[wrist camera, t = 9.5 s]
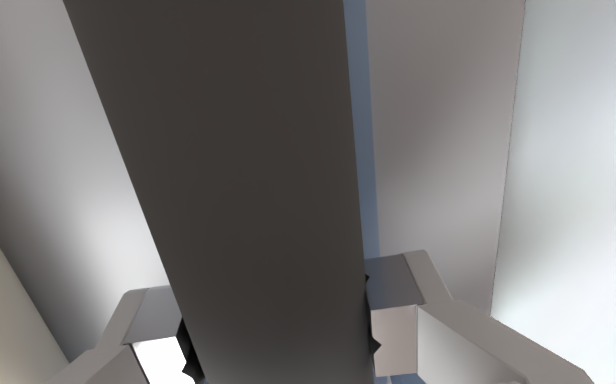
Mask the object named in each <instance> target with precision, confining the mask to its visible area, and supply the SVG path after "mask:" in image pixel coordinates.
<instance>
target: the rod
mask: <svg viewBox="0 0 616 384" xmlns="http://www.w3.org/2000/svg"><path fill="white" fill-rule="evenodd" d="M68 365H69V362H68V360H67V359H66V357H65V355H64V354H63V352H62V350H61V349H60V347H59V345H58V344H57V342H56V340H55V339H54V337H53V335H52V334H51V332H50V330H49V329H48V327H47V325H46V324H45V322H44V320H43V319H42V317H41V315H40V314H39V312H38V310H37V309H36V307H35V305H34V304H33V302H32V300H31V299H30V297H29V295H28V294H27V292H26V290H25V289H24V287H23V285H22V284H21V282H20V280H19V279H18V277H17V275H16V274H15V272H14V270H13V269H12V267H11V265H10V264H9V262H8V260H7V259H6V257H5V255H4V254H3V252H2V250H1V249H0V384H45V383H46V382H47V381H49V380H50V379H51V378H52V377H54V376H55V375H56V374H57V373H59V372H60V371H61V370H63V369H64V368H65V367H66V366H68Z"/></svg>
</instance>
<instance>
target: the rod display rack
mask: <svg viewBox="0 0 616 384" xmlns="http://www.w3.org/2000/svg"><path fill="white" fill-rule="evenodd" d="M525 2H526V0H343V4H344V17H345V29H346V41H347V54H348V66H349V79H350V91H351V103H352V116H353V128H354V141H355V153H356V166H357V178H358V190H359V203H360V215H361V228H362V240H363V252H364V259H368V258H375V257H382V256H389V255H396V254H401V253H404V252H410V251H417V250H423V249H424V250H425V251H427V252H428V254H429V256H430V258H431V260H432V262H433V264H434V265H435V267H436V269H437V271H438V273H439V275H440V276H441V278H442V280H443V282H444V284H445V286H446V287H447V289H448V291H449V293H450V295H451V297H452V298H453V300H462V301H464V302H466V303H468V304H469V305H471V306H473V307H475V308H476V309H478V310H480V311H482V312H483V313H485V314H487V315H489V316H490V312H491V303H492V295H493V286H494V277H495V268H496V259H497V250H498V241H499V232H500V223H501V215H502V206H503V197H504V188H505V179H506V170H507V161H508V152H509V144H510V135H511V126H512V117H513V108H514V99H515V90H516V81H517V73H518V64H519V55H520V46H521V37H522V28H523V19H524V10H525ZM0 249H1V250H2V252H3V254H4V255H5V257H6V259H7V260H8V262H9V264H10V265H11V267H12V269H13V270H14V272H15V274H16V275H17V277H18V279H19V280H20V282H21V284H22V285H23V287H24V289H25V290H26V292H27V294H28V295H29V297H30V299H31V300H32V302H33V304H34V305H35V307H36V309H37V310H38V312H39V314H40V315H41V317H42V319H43V320H44V322H45V324H46V325H47V327H48V329H49V330H50V332H51V334H52V335H53V337H54V339H55V340H56V342H57V344H58V345H59V347H60V349H61V350H62V352H63V354H64V355H65V357H66V359H67V360H68V362H69V364H70V363H71V362H73V361H74V360H75V359H76V358H78V357H79V356H80V355H81V354H83V353H84V352H85V351H86V350H92V349H95V347H96V345H97V343H98V341H99V339H100V337H101V335H102V333H103V332H104V330H105V328H106V326H107V324H108V322H109V320H110V318H111V316H112V315H113V313H114V311H115V309H116V307H117V305H118V303H119V301H120V300H121V298H122V296H123V294H124V293H125V292H127V291H128V290H133V289H141V288H151V287H156V286H165V285H170V283H169V280H168V278H167V275H166V272H165V270H164V267H163V264H162V262H161V259H160V256H159V254H158V251H157V249H156V246H155V243H154V241H153V238H152V235H151V233H150V230H149V227H148V225H147V222H146V219H145V217H144V214H143V212H142V209H141V206H140V204H139V201H138V198H137V196H136V193H135V190H134V188H133V185H132V182H131V180H130V177H129V175H128V172H127V169H126V167H125V164H124V161H123V159H122V156H121V153H120V151H119V148H118V145H117V143H116V140H115V137H114V135H113V132H112V130H111V127H110V124H109V122H108V119H107V116H106V114H105V111H104V108H103V106H102V103H101V100H100V98H99V95H98V93H97V90H96V87H95V85H94V82H93V79H92V77H91V74H90V71H89V69H88V66H87V63H86V61H85V58H84V56H83V53H82V50H81V48H80V45H79V42H78V40H77V37H76V34H75V32H74V29H73V26H72V24H71V21H70V19H69V16H68V13H67V11H66V8H65V5H64V3H63V0H0ZM372 364H373V363H372ZM373 377H374V384H426V383H425V382H424V381H423V380H422V379H421V378H420V377H419V376H418V373H411V374H402V375H392V376H383V377H376V376H375V372H374V368H373ZM205 384H208V383H207V381H206V379H205Z"/></svg>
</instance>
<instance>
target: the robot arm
mask: <svg viewBox="0 0 616 384" xmlns="http://www.w3.org/2000/svg"><path fill="white" fill-rule="evenodd" d="M364 265H365V277H366V283H365V297H366V310H367V318H368V322H369V330H368V335H369V346H370V355H371V359H372V363H373V368H374V372H375V376H376V377H383V376H392V375H402V374H411V373H418V376H419V377H420V378H421V379H422V380H423V381H424V382H425V383H426V384H594V383H593V381H592V380H591V379H590V377H589V376H588V375H587V374H586V372H585V371H584V370H583V369H581V368H579V367H577V366H576V365H574V364H572V363H570V362H569V361H567V360H565V359H563V358H562V357H560V356H558V355H556V354H555V353H553V352H551V351H549V350H548V349H546V348H544V347H542V346H541V345H539V344H537V343H536V342H534V341H532V340H530V339H529V338H527V337H525V336H523V335H522V334H520V333H518V332H516V331H515V330H513V329H511V328H509V327H508V326H506V325H504V324H502V323H501V322H499V321H497V320H496V319H494V318H492V317H490V316H489V315H487V314H485V313H483V312H482V311H480V310H478V309H476V308H475V307H473V306H471V305H469V304H468V303H466V302H464V301H462V300H453V298H452V297H451V295H450V293H449V291H448V289H447V287H446V286H445V284H444V282H443V280H442V278H441V276H440V275H439V273H438V271H437V269H436V267H435V265H434V264H433V262H432V260H431V258H430V256H429V254H428V252H427V251H425V250H424V249H423V250H417V251H410V252H404V253H401V254H396V255H389V256H382V257H375V258H368V259H364ZM205 379H206V378H205V375H204V373H203V370H202V367H201V365H200V362H199V360H198V357H197V354H196V352H195V349H194V346H193V344H192V341H191V338H190V336H189V333H188V330H187V328H186V325H185V323H184V320H183V317H182V315H181V312H180V309H179V307H178V304H177V301H176V299H175V296H174V293H173V291H172V288H171V286H170V285H165V286H156V287H151V288H141V289H133V290H128V291H127V292H125V293H124V294H123V296H122V298H121V300H120V301H119V303H118V305H117V307H116V309H115V311H114V313H113V315H112V316H111V318H110V320H109V322H108V324H107V326H106V328H105V330H104V332H103V333H102V335H101V337H100V339H99V341H98V343H97V345H96V347H95V349H92V350H86V351H85V352H84V353H83V354H81V355H80V356H79V357H78V358H76V359H75V360H74V361H73V362H71V363H70V364H69V365H68V366H66V367H65V368H64V369H63V370H61V371H60V372H59V373H57V374H56V375H55V376H54V377H52V378H51V379H50V380H49V381H47V382H46V383H45V384H205Z"/></svg>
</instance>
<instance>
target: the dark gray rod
mask: <svg viewBox="0 0 616 384" xmlns="http://www.w3.org/2000/svg"><path fill="white" fill-rule="evenodd" d="M63 3H64V5H65V8H66V11H67V13H68V16H69V19H70V21H71V24H72V26H73V29H74V32H75V34H76V37H77V40H78V42H79V45H80V48H81V50H82V53H83V56H84V58H85V61H86V63H87V66H88V69H89V71H90V74H91V77H92V79H93V82H94V85H95V87H96V90H97V93H98V95H99V98H100V100H101V103H102V106H103V108H104V111H105V114H106V116H107V119H108V122H109V124H110V127H111V130H112V132H113V135H114V137H115V140H116V143H117V145H118V148H119V151H120V153H121V156H122V159H123V161H124V164H125V167H126V169H127V172H128V175H129V177H130V180H131V182H132V185H133V188H134V190H135V193H136V196H137V198H138V201H139V204H140V206H141V209H142V212H143V214H144V217H145V219H146V222H147V225H148V227H149V230H150V233H151V235H152V238H153V241H154V243H155V246H156V249H157V251H158V254H159V256H160V259H161V262H162V264H163V267H164V270H165V272H166V275H167V278H168V280H169V283H170V286H171V288H172V291H173V293H174V296H175V299H176V301H177V304H178V307H179V309H180V312H181V315H182V317H183V320H184V323H185V325H186V328H187V330H188V333H189V336H190V338H191V341H192V344H193V346H194V349H195V352H196V354H197V357H198V360H199V362H200V365H201V367H202V370H203V373H204V375H205V378H206V381H207V383H208V384H374V377H373V364H372V359H371V355H370V346H369V335H368V330H369V322H368V318H367V310H366V297H365V283H366V277H365V265H364V252H363V240H362V228H361V215H360V203H359V190H358V178H357V166H356V153H355V141H354V128H353V116H352V103H351V91H350V79H349V66H348V54H347V41H346V29H345V17H344V4H343V0H63Z"/></svg>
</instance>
